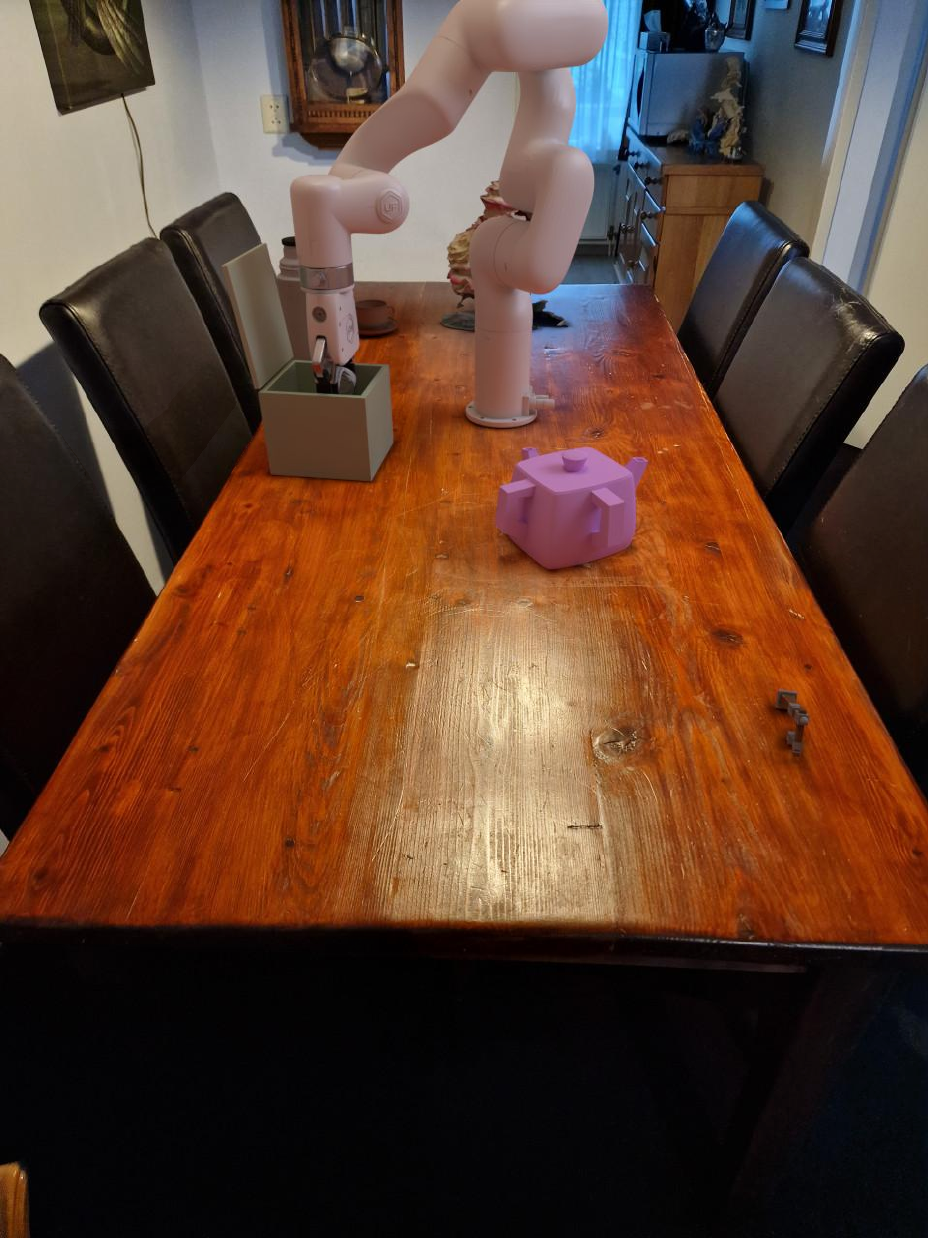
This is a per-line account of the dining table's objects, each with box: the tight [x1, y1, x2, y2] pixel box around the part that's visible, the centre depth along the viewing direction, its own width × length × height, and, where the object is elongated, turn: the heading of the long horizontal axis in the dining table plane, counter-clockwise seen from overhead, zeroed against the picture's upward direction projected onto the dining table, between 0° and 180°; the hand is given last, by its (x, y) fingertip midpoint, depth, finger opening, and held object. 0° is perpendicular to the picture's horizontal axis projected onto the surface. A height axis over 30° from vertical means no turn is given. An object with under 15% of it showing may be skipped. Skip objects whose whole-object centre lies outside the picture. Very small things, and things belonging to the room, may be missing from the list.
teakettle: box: [494, 446, 649, 570], centre depth 104 cm, size 17×17×12 cm
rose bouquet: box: [440, 179, 569, 332], centre depth 183 cm, size 26×29×30 cm
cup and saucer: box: [355, 299, 399, 336], centre depth 184 cm, size 12×12×6 cm
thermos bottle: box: [276, 235, 332, 364], centre depth 140 cm, size 8×8×28 cm
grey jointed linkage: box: [774, 689, 810, 758], centre depth 77 cm, size 2×8×4 cm, turn 169°
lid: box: [221, 242, 293, 390], centre depth 118 cm, size 17×15×1 cm
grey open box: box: [257, 360, 394, 482], centre depth 125 cm, size 16×15×13 cm
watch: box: [327, 366, 356, 395], centre depth 124 cm, size 6×8×11 cm
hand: (338, 398), depth 123 cm, fingers closed on watch, 8 cm apart
